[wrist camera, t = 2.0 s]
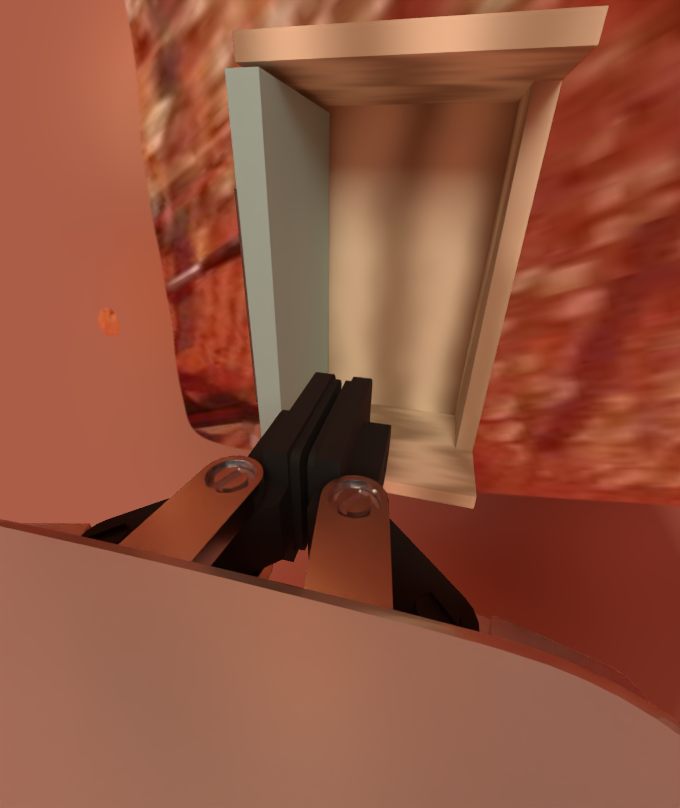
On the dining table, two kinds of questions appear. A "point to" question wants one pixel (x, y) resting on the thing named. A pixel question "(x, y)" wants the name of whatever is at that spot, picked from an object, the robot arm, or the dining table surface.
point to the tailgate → (281, 232)
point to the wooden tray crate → (427, 206)
